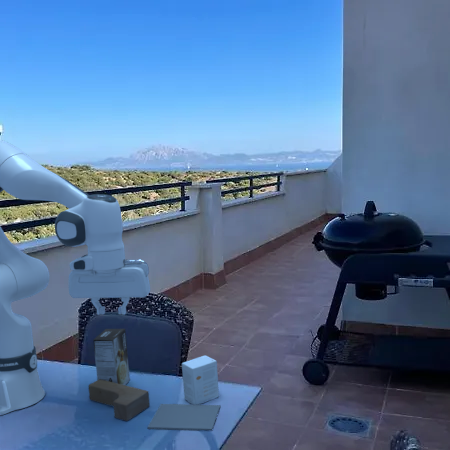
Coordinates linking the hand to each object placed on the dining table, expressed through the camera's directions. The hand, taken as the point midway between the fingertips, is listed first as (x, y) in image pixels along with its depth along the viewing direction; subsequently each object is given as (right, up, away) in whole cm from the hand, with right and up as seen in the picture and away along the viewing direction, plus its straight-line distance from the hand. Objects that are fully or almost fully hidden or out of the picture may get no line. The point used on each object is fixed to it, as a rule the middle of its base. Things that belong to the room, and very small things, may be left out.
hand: (111, 314), depth 135 cm
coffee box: (-4, -25, +22) cm, 33 cm away
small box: (+22, -25, +11) cm, 35 cm away
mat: (+18, -26, +1) cm, 32 cm away
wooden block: (+6, -24, +4) cm, 25 cm away
